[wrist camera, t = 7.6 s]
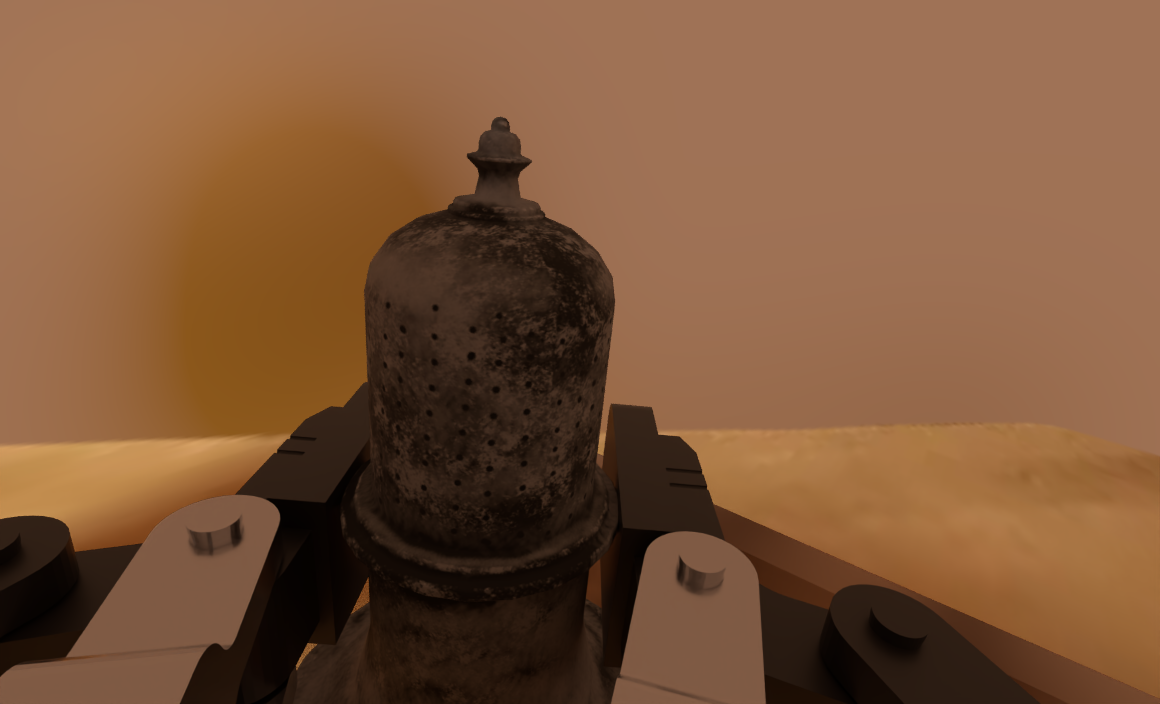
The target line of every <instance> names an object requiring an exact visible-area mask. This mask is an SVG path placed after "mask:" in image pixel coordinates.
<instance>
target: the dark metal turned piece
mask: <svg viewBox="0 0 1160 704" xmlns="http://www.w3.org/2000/svg"><path fill="white" fill-rule="evenodd" d="M520 153H521V144H520V139H519V138H518V137H517V136H516V134H513V133H511V132H510V126H509V122H508V121H507V119H506V118H503V117H497V118H495V119H494V120H493V122H492V125H491V130H489V131H485V132H484V133H483V134H482V135H481V136H480V140H479V149H478V151H477V152H472V153H468V154H467V157H468V159H469V160H470V161H471V162H472V163H473V164H474V165H475V166H476V167H477V168H478V172H479V178H478V182H477V186H476V190H475V194H470V195H463V196H458V197H455V199H454V200H453V203H452V204H450V205H449V206H448V209H447V210H443V211H439V212H435V213H430V214H426V215H423V216H421V217H418V218H416V219H415V220H413V221H411V222H410V223H408V224H407V225H405V226H404V227H402V228H400V229H399V230H397V231H395V232H394V233H392V234H391V235H390V236H389V237H388V239H387V240H386V241H385V243H384V244H383V245H382V247H381V248H380V249H379V251H378V252H377V253H376V255H375V256H374V258H373V259H372V261H371V262H370V265H369V270H368V274H367V280H366V285H365V289H364V293H365V294H364V296H365V322H366V348H367V349H366V350H367V377H368V404H369V431H370V459H369V460H368V461H366V462H365V463H364V464H362V465H361V467H360V468H359V469H358V471H357V472H356V473H355V475H354V476H353V477H352V479H351V480H350V482H349V483H348V485H347V487H346V490H345V492H344V494H343V496H342V499H341V502H340V505H339V514H340V521H341V527H342V534H343V538H344V539H345V541H346V542H347V544H348V545H349V547H350V548H351V550H352V551H353V553H354V554H355V556H356V557H357V559H358V560H359V561H360V562H362V563H363V564H364V565H366V566H367V567H368V574H369V597H370V602H369V603H367V604H366V605H364V606H363V607H361V608H360V609H358V610H357V611H355V612H354V613H352V614H351V615H350V616H349V619H348V621H347V623H346V625H345V627H344V629H343V631H342V633H341V635H340V637H339V639H338V642H337V644H336V645H327V644H317V645H316V646H315V647H314V648H313V649H312V650H311V651H310V652H309V653H308V654H307V655H306V656H305V658H304V660H303V661H302V663H301V664H300V666H299V668H298V669H297V681H298V682H297V689H296V693H295V697H294V701H293V704H611V702H612V697H613V693H614V688H615V684H616V680H617V676H618V674H620V672H621V668H617V667H604V666H603V638H602V609H601V608H600V607H599V606H598V605H596V604H594V603H593V602H591V601H589V600H588V599H586V593H587V585H588V577H589V569H590V568H591V567H592V566H593V565H594V564H595V563H596V562H597V561H598V560H599V559H600V558H601V557H602V556H603V555H604V554H605V553H607V552H608V550H609V548H610V546H611V544H612V542H613V540H614V538H615V535H616V533H617V531H618V527H619V517H618V500H617V493H616V489H615V487H614V485H613V482H612V480H611V479H610V478H609V477H608V476H607V475H606V473H605V472H604V471H603V470H602V469H601V468H600V466H599V465H598V464H597V463H596V460H597V452H598V443H599V435H600V426H601V417H602V410H603V401H604V393H605V384H606V375H607V367H608V359H609V350H610V341H611V334H612V325H613V316H614V306H615V298H614V287H613V278H612V275H611V273H610V272H609V270H608V268H607V266H606V265H605V263H604V261H603V260H602V258H601V256H600V254H599V253H598V251H596V249H595V248H594V247H593V246H591V245H590V244H589V243H588V242H587V241H585V240H584V239H583V238H582V237H581V236H580V235H578V234H577V233H576V232H575V231H574V230H572V229H571V228H569V227H567V226H564V225H562V224H560V223H558V222H556V221H553V220H551V219H549V218H546V217H545V213H544V212H543V211H541V210H540V209H541V208H540V206H539V204H538V203H536V202H534V201H530V200H527V199H523V198H520V191H519V184H518V177H519V174H520V172H521V171H522V170H523V169H524V168H525V167H527V166H528V165H529V164H530V163H531V162H532V160H530V159H528V158H526V157H524V156H522V155H521V154H520Z"/></svg>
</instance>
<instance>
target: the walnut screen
mask: <svg viewBox="0 0 1160 704" xmlns="http://www.w3.org/2000/svg"><path fill="white" fill-rule="evenodd" d="M596 463H597V464H598V465H599V466H600V468H601V469H602V465H603V456H602V455H600V454H598V453H597V460H596ZM713 505H714V504H713ZM714 508H715V511H716V514H717V517H718V520H719V523H720V526H721V529H722V532H723V535H724V538H725V542H727V543H729V544H731V545H733V546H734V547H736V548H737V549H738V550H740V551H741V552H742V553H743V554H744V555H745V556H746V557H747V558H748V559H749V560H750V562H751V563H752V565H753V566H754V568H755V570H756V572H757V575H758V581H759V583H760V584H761V585H763V586H765V587H766V588H768V589H770V590H772V591H775V592H777V593H779V594H782V595H785V596H787V597H790V598H793V599H797V600H800V601H803V602H806V603H809V604H812V605H816V606H819V607H822V608H825V609H828V610H829V607H830V603H831V601H832V598H833V596H834V595H835V594H836V593H837V592H838V591H839V590H841V589H842V588H844V587H847V586H850V585H857V584H868V585H876V586H881V587H885V588H889V589H892V590H895V591H898V592H900V593H903V594H905V595H907V596H910V597H911V598H913V599H915V600H917V601H919V602H921V603H922V604H924V605H925V606H927V607H928V608H930V609H931V610H933V611H934V612H935V613H936V614H938V615H939V616H940V617H941V618H942V619H944V620H945V621H946V622H947V623H948V624H949V625H951V626H952V627H953V628H954V629H955V630H956V631H957V632H959V633H960V634H961V635H962V636H963V637H964V638H966V639H967V640H968V641H969V642H970V643H971V644H972V645H974V646H975V647H976V648H977V649H978V650H979V651H981V652H982V653H983V654H984V655H985V656H986V657H987V658H989V659H990V660H991V661H992V662H993V663H994V664H996V665H997V666H998V667H999V668H1000V669H1001V670H1002V671H1004V672H1005V673H1006V674H1007V675H1008V676H1009V677H1011V678H1012V679H1013V680H1014V681H1015V682H1016V683H1017V684H1019V685H1020V686H1021V687H1022V688H1023V689H1024V690H1026V691H1027V692H1028V693H1029V694H1030V695H1031V696H1032V697H1034V698H1035V699H1036V700H1037V701H1038V702H1039V703H1041V704H1160V699H1159V698H1156V697H1154V696H1152V695H1150V694H1147V693H1145V692H1143V691H1140V690H1138V689H1136V688H1134V687H1131V686H1129V685H1127V684H1124V683H1122V682H1120V681H1117V680H1115V679H1113V678H1111V677H1108V676H1106V675H1104V674H1101V673H1099V672H1097V671H1095V670H1092V669H1090V668H1088V667H1085V666H1083V665H1081V664H1079V663H1076V662H1074V661H1072V660H1069V659H1067V658H1065V657H1063V656H1060V655H1058V654H1056V653H1053V652H1051V651H1049V650H1046V649H1044V648H1042V647H1040V646H1037V645H1035V644H1033V643H1030V642H1028V641H1026V640H1024V639H1021V638H1019V637H1017V636H1014V635H1012V634H1010V633H1008V632H1005V631H1003V630H1001V629H998V628H996V627H994V626H992V625H989V624H987V623H985V622H982V621H980V620H978V619H976V618H973V617H971V616H969V615H966V614H964V613H962V612H959V611H957V610H955V609H953V608H950V607H948V606H946V605H943V604H941V603H939V602H937V601H934V600H932V599H930V598H927V597H925V596H923V595H921V594H918V593H916V592H914V591H911V590H909V589H907V588H905V587H902V586H900V585H898V584H895V583H893V582H891V581H889V580H886V579H884V578H882V577H879V576H877V575H875V574H872V573H870V572H868V571H866V570H863V569H861V568H859V567H856V566H854V565H852V564H850V563H847V562H845V561H843V560H840V559H838V558H836V557H834V556H831V555H829V554H827V553H824V552H822V551H820V550H818V549H815V548H813V547H811V546H808V545H806V544H804V543H802V542H799V541H797V540H795V539H792V538H790V537H788V536H785V535H783V534H781V533H779V532H776V531H774V530H772V529H769V528H767V527H765V526H763V525H760V524H758V523H756V522H753V521H751V520H749V519H747V518H744V517H742V516H740V515H737V514H735V513H733V512H731V511H728V510H726V509H724V508H721V507H719V506H717V505H714ZM586 599H588V600H589V601H591V602H593V603H594V604H596V605H598V606H599V607H600V608H601V609H602V605H601V572H600V559H599V560H598V561H597V562H596V563H595V564H594V565H593V566H592V567H591V568H590V569H589V577H588V585H587V593H586Z"/></svg>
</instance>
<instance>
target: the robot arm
mask: <svg viewBox="0 0 1160 704" xmlns="http://www.w3.org/2000/svg"><path fill="white" fill-rule="evenodd" d="M369 459H370V431H369V404H368V382H365V383H364V384H362V386H361V387H360V388H359V389H358V390H357V391H356V393H355V394H354V395H353V396H352V398H351V399H350V400H349V401H348V402H347V403H346V405H345V406H344V407H333V406H331V407H329V408H327V409H325V410H323V411H321V412H319V413H317V414H315V415H313V416H311V417H309V418H308V419H306V420H305V421H304V422H303V423H302V424H301V425H300V426H299V427H298V428H297V429H296V430H295V431H294V432H293V433H292V435H291V436H290V439H287V440H286V441H285V442H284V443H283V444H282V445H281V446H280V447H279V448H278V449H277V453H274V454H273V455H272V456H271V457H270V458H269V459H268V460H267V461H266V462H265V463H264V464H263V465H262V466H261V468H260V469H259V470H258V471H257V472H256V473H255V474H254V475H253V476H252V477H251V478H250V479H249V480H248V481H247V482H246V484H245V485H244V486H243V487H242V488H241V489H240V490H239V491H238V492H237V493H236V494H235V495H228V496H220V497H214V498H210V499H206V500H202V501H199V502H196V503H193V504H190V505H188V506H186V507H183V508H181V509H179V510H177V511H176V512H174V513H172V514H170V515H169V516H167V517H166V518H165V519H163V520H162V521H161V522H160V523H159V524H157V525H156V526H155V528H154V529H153V530H152V531H151V532H150V534H149V535H148V537H147V538H146V540H145V541H144V543H141V544H135V545H127V546H119V547H111V548H103V549H95V550H87V551H79V552H75V551H74V547H73V543H72V540H71V536H70V532H69V528H68V527H67V526H66V524H65V523H63V522H62V521H60V520H58V519H55V518H52V517H45V516H18V517H11V518H4V519H0V704H293V701H294V697H295V693H296V689H297V682H298V681H297V671H296V664H297V662H298V660H299V658H300V657H301V655H302V653H303V651H304V649H305V647H306V645H307V643H314V644H327V645H336V644H337V642H338V639H339V637H340V635H341V633H342V631H343V629H344V627H345V625H346V623H347V621H348V619H349V616H350V614H351V612H352V610H353V608H354V606H355V604H356V602H357V600H358V598H359V595H360V593H361V591H362V589H363V587H364V585H365V583H366V581H367V579H368V577H369V574H368V567H367V566H366V565H364V564H363V563H362V562H360V561H359V560H358V559H357V557H356V556H355V554H354V553H353V551H352V550H351V548H350V547H349V545H348V544H347V542H346V541H345V539H344V538H343V534H342V527H341V521H340V514H339V505H340V502H341V499H342V496H343V494H344V492H345V490H346V487H347V485H348V483H349V482H350V480H351V479H352V477H353V476H354V475H355V473H356V472H357V471H358V469H359V468H360V467H361V465H362V464H364V463H365V462H366V461H368V460H369ZM602 470H603V471H604V472H605V473H606V475H607V476H608V477H609V478H610V479H611V480H612V482H613V485H614V487H615V489H616V493H617V500H618V517H619V527H618V531H617V533H616V535H615V538H614V540H613V542H612V544H611V546H610V548H609V550H608V552H607V553H605V554H604V555H603V556H602V557H601V558H600V572H601V605H602V638H603V666H604V667H617V668H621V672H620V674H618V676H617V680H616V684H615V688H614V693H613V697H612V702H611V704H1041V703H1039V702H1038V701H1037V700H1036V699H1035V698H1034V697H1032V696H1031V695H1030V694H1029V693H1028V692H1027V691H1026V690H1024V689H1023V688H1022V687H1021V686H1020V685H1019V684H1017V683H1016V682H1015V681H1014V680H1013V679H1012V678H1011V677H1009V676H1008V675H1007V674H1006V673H1005V672H1004V671H1002V670H1001V669H1000V668H999V667H998V666H997V665H996V664H994V663H993V662H992V661H991V660H990V659H989V658H987V657H986V656H985V655H984V654H983V653H982V652H981V651H979V650H978V649H977V648H976V647H975V646H974V645H972V644H971V643H970V642H969V641H968V640H967V639H966V638H964V637H963V636H962V635H961V634H960V633H959V632H957V631H956V630H955V629H954V628H953V627H952V626H951V625H949V624H948V623H947V622H946V621H945V620H944V619H942V618H941V617H940V616H939V615H938V614H936V613H935V612H934V611H933V610H931V609H930V608H928V607H927V606H925V605H924V604H922V603H921V602H919V601H917V600H915V599H913V598H911V597H910V596H907V595H905V594H903V593H900V592H898V591H895V590H892V589H889V588H885V587H881V586H876V585H868V584H857V585H850V586H847V587H844V588H842V589H841V590H839V591H838V592H837V593H836V594H835V595H834V596H833V598H832V601H831V603H830V607H829V610H828V609H825V608H822V607H819V606H816V605H812V604H809V603H806V602H803V601H800V600H797V599H793V598H790V597H787V596H785V595H782V594H779V593H777V592H775V591H772V590H770V589H768V588H766V587H765V586H763V585H761V584H760V583H759V581H758V575H757V572H756V570H755V568H754V566H753V565H752V563H751V562H750V560H749V559H748V558H747V557H746V556H745V555H744V554H743V553H742V552H741V551H740V550H738V549H737V548H736V547H734V546H733V545H731V544H729V543H727V542H725V538H724V535H723V532H722V529H721V526H720V523H719V520H718V517H717V514H716V511H715V508H714V505H713V502H712V499H711V496H710V493H709V490H707V484H706V481H705V478H704V475H703V474H702V469H701V466H700V463H699V460H698V457H697V454H696V452H695V451H694V450H693V449H692V448H691V447H690V446H689V445H688V444H687V443H686V442H685V441H683V440H682V439H681V438H680V437H679V436H667V435H658V432H657V427H656V423H655V419H654V415H653V410H652V407H644V406H632V405H620V404H611V405H610V410H609V415H608V424H607V432H606V440H605V448H604V456H603V465H602Z"/></svg>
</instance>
